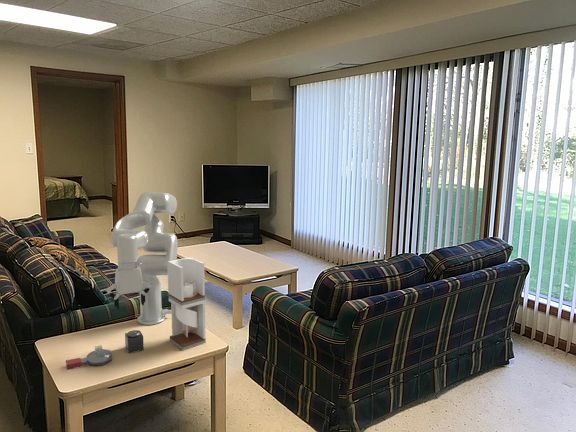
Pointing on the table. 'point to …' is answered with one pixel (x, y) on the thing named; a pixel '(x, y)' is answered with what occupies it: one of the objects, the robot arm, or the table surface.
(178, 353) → the table surface
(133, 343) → the socket
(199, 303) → the two-tier white tower
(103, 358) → the ratchet
